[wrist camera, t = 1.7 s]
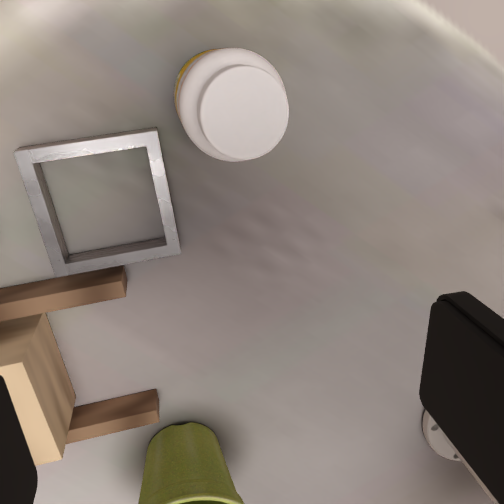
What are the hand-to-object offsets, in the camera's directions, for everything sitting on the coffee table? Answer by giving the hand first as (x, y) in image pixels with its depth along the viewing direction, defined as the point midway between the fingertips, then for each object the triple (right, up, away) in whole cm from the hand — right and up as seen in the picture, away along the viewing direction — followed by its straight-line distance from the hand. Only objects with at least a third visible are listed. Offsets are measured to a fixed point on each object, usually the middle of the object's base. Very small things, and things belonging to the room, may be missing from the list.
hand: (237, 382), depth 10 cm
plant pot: (-6, -14, +29) cm, 33 cm away
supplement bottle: (-2, +13, +18) cm, 23 cm away
